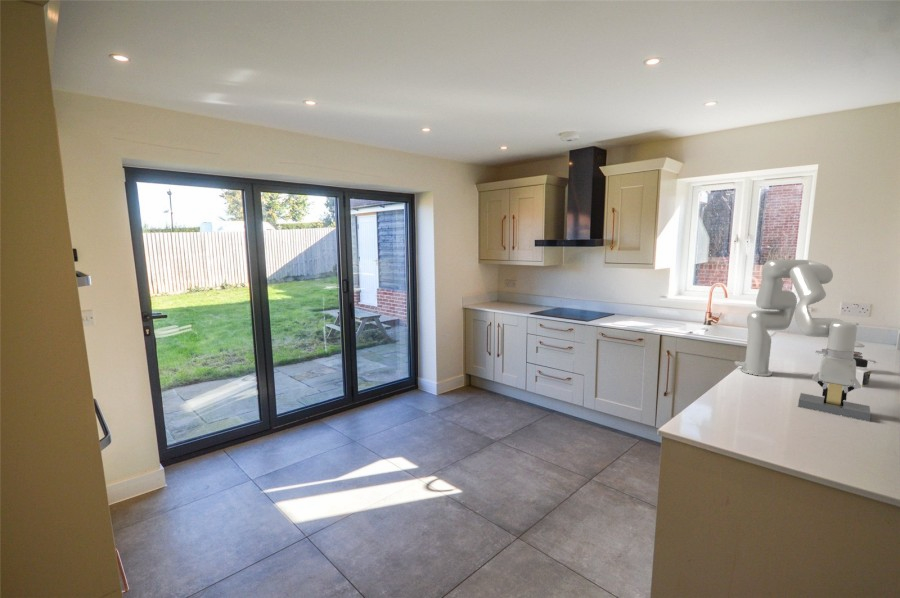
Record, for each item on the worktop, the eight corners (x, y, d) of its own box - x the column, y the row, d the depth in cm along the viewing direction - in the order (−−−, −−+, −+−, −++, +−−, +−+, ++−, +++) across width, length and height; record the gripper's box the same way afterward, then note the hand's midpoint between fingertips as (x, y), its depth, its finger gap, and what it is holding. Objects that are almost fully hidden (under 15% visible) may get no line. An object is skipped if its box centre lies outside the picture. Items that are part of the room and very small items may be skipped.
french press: (842, 372, 208) (848, 323, 205) (831, 366, 219) (837, 319, 216) (867, 374, 205) (874, 325, 201) (855, 368, 215) (861, 321, 212)
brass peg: (825, 407, 160) (828, 382, 159) (825, 404, 163) (829, 380, 161) (839, 410, 157) (842, 385, 156) (839, 407, 160) (843, 382, 159)
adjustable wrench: (875, 363, 226) (876, 360, 226) (871, 365, 223) (872, 361, 223) (817, 352, 248) (817, 349, 247) (813, 354, 244) (813, 351, 244)
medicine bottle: (862, 387, 186) (865, 361, 185) (841, 382, 193) (845, 357, 191) (868, 384, 190) (872, 359, 188) (848, 380, 196) (851, 355, 194)
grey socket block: (798, 406, 163) (798, 399, 163) (800, 399, 170) (800, 392, 170) (869, 421, 150) (870, 413, 149) (868, 413, 157) (869, 406, 156)
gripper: (810, 352, 160) (804, 397, 163) (871, 360, 149) (864, 408, 151) (811, 348, 166) (805, 392, 168) (870, 356, 154) (863, 403, 157)
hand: (833, 399), depth 160 cm, fingers closed on brass peg, 4 cm apart
